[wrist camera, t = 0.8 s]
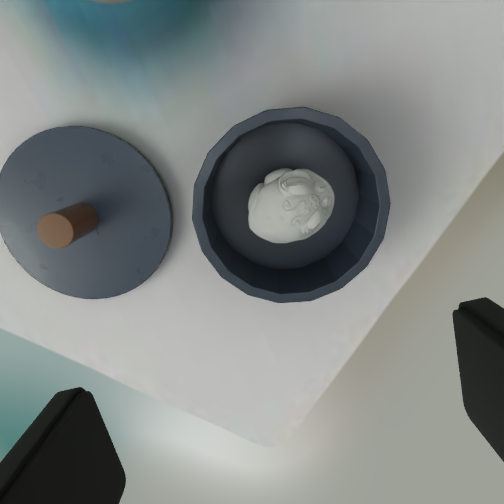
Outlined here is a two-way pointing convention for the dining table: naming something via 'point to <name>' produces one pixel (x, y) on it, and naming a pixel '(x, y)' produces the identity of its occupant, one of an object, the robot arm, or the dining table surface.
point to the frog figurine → (290, 205)
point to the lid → (84, 212)
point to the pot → (293, 157)
